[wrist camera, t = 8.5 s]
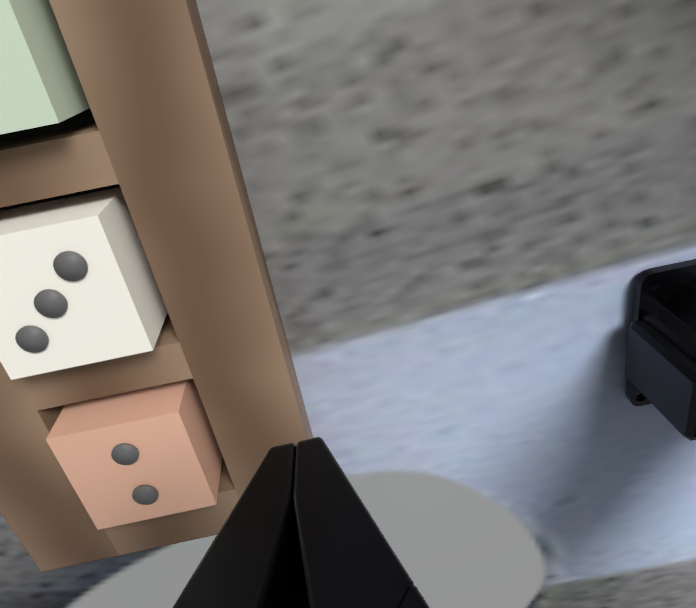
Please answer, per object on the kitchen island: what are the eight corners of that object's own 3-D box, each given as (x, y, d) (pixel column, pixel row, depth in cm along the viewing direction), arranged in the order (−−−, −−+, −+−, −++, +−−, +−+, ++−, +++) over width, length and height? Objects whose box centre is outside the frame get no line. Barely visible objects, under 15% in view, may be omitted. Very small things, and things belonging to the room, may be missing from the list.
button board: (131, -237, 13) (109, -276, 11) (323, 475, 25) (326, 511, 23) (-366, -143, 13) (-467, -168, 11) (58, 531, 24) (41, 572, 23)
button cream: (124, 185, 18) (96, 216, 15) (169, 305, 20) (152, 352, 17) (-14, 213, 18) (-68, 249, 15) (46, 331, 20) (9, 381, 17)
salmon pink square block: (191, 362, 21) (177, 413, 18) (223, 449, 23) (216, 506, 20) (75, 386, 21) (44, 441, 18) (118, 471, 23) (97, 532, 20)
